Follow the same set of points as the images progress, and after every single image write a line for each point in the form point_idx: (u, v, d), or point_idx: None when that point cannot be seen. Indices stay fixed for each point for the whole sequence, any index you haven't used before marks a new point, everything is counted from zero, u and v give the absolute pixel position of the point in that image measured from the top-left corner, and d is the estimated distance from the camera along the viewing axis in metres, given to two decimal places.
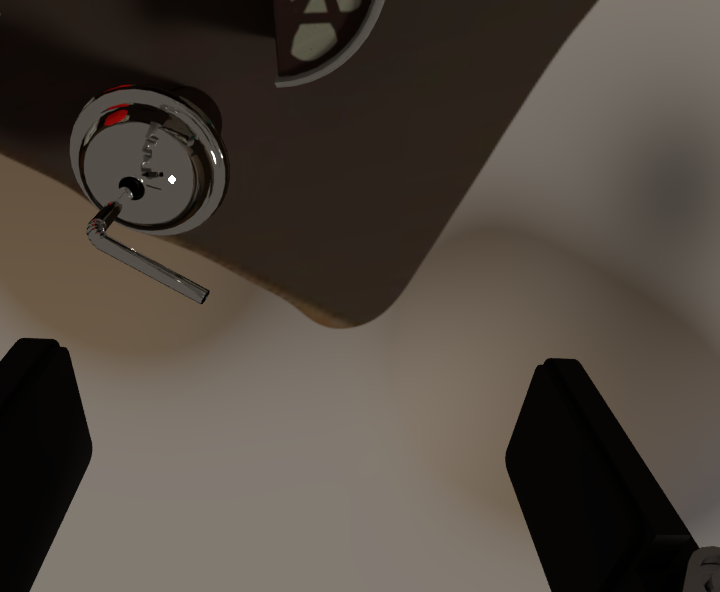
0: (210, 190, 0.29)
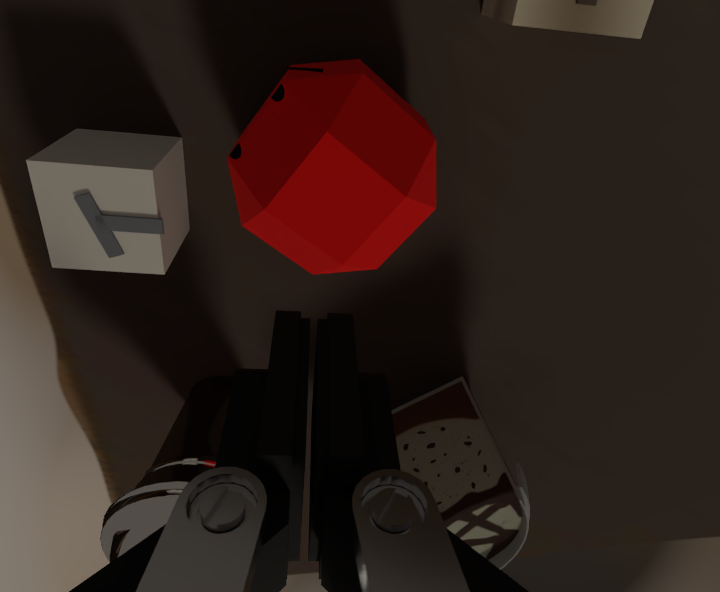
0: None
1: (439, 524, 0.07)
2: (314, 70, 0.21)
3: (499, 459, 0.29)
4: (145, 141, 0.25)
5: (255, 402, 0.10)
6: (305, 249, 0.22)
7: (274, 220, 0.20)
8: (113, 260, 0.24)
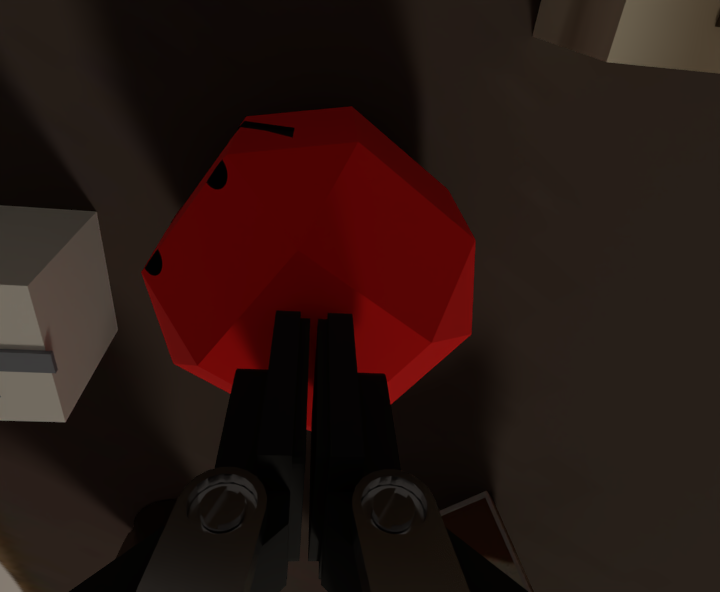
0: None
1: (439, 524, 0.07)
2: (281, 128, 0.13)
3: None
4: (37, 222, 0.17)
5: (255, 402, 0.10)
6: None
7: (217, 377, 0.13)
8: None
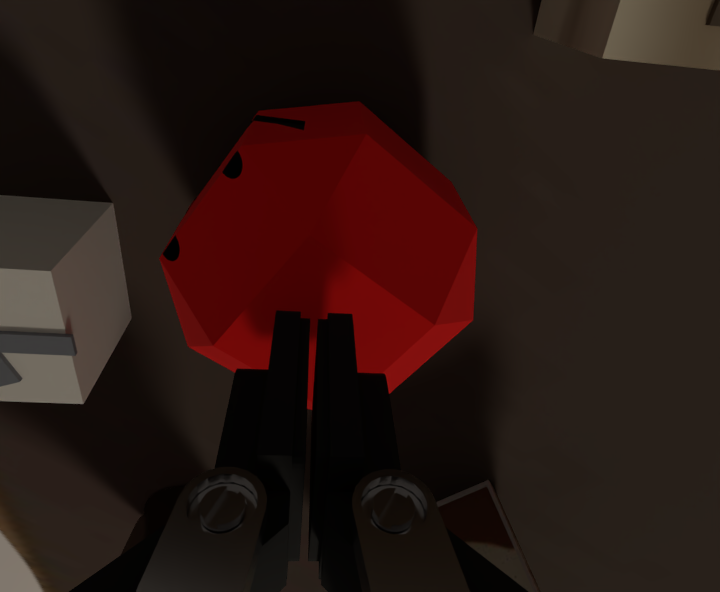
0: None
1: (439, 524, 0.07)
2: (292, 122, 0.14)
3: None
4: (57, 213, 0.18)
5: (255, 401, 0.10)
6: None
7: (231, 357, 0.13)
8: (7, 388, 0.17)
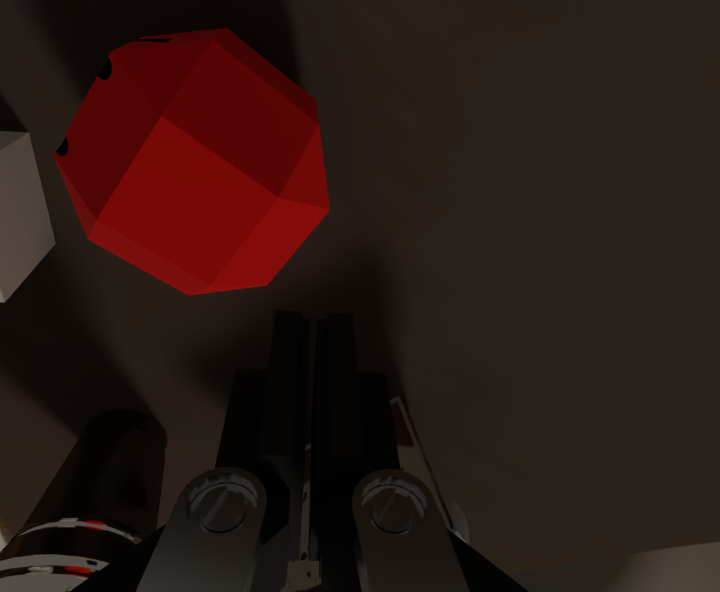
0: None
1: (439, 524, 0.07)
2: (164, 41, 0.17)
3: (434, 495, 0.25)
4: None
5: (255, 401, 0.10)
6: (165, 267, 0.17)
7: (114, 233, 0.16)
8: None
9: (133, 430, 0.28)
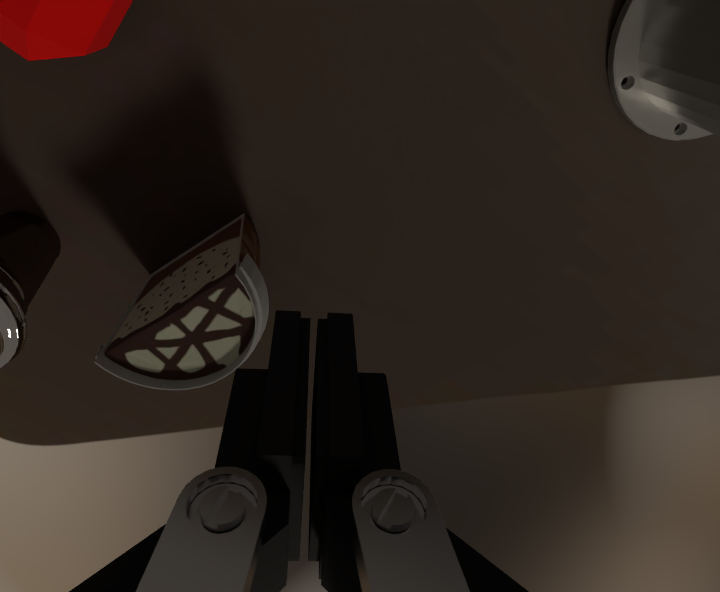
0: None
1: (439, 524, 0.07)
2: None
3: (238, 256, 0.32)
4: None
5: (256, 401, 0.10)
6: None
7: None
8: None
9: (25, 221, 0.36)
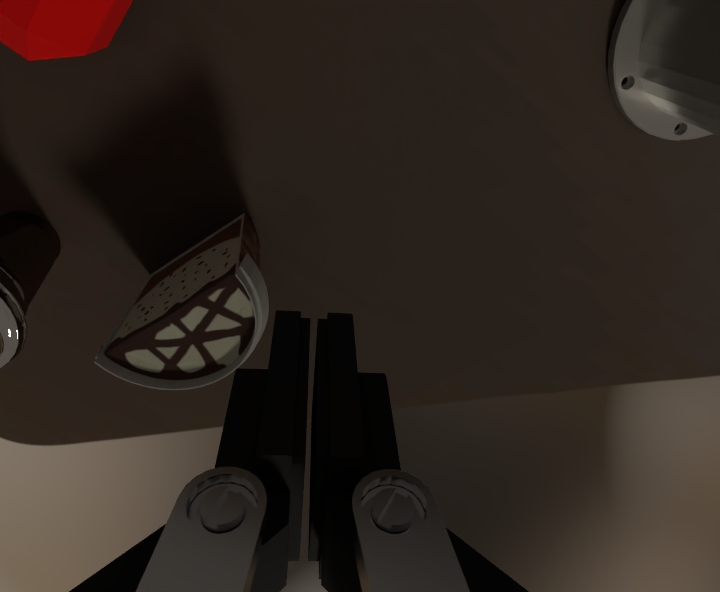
0: None
1: (439, 524, 0.07)
2: None
3: (238, 255, 0.32)
4: None
5: (256, 402, 0.10)
6: None
7: None
8: None
9: (25, 221, 0.36)
